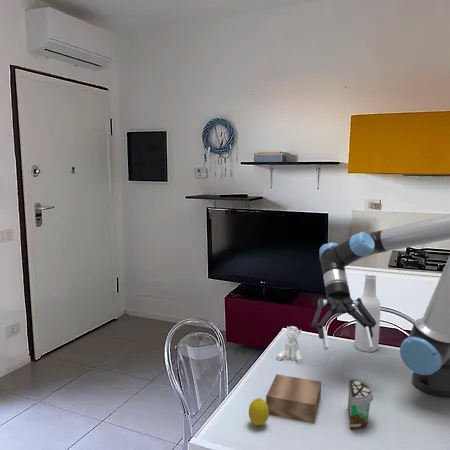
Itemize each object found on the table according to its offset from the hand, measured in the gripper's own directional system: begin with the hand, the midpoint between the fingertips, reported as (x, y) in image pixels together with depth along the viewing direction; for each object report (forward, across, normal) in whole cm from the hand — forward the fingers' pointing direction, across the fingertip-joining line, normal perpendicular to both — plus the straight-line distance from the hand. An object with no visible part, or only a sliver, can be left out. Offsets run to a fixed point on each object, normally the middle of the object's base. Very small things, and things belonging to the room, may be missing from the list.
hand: (348, 348), depth 138 cm
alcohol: (-14, -20, -38) cm, 45 cm away
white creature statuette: (-9, +11, -33) cm, 36 cm away
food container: (+20, 0, -3) cm, 20 cm away
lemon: (+21, +29, -2) cm, 36 cm away
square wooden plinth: (+15, +17, -9) cm, 24 cm away
